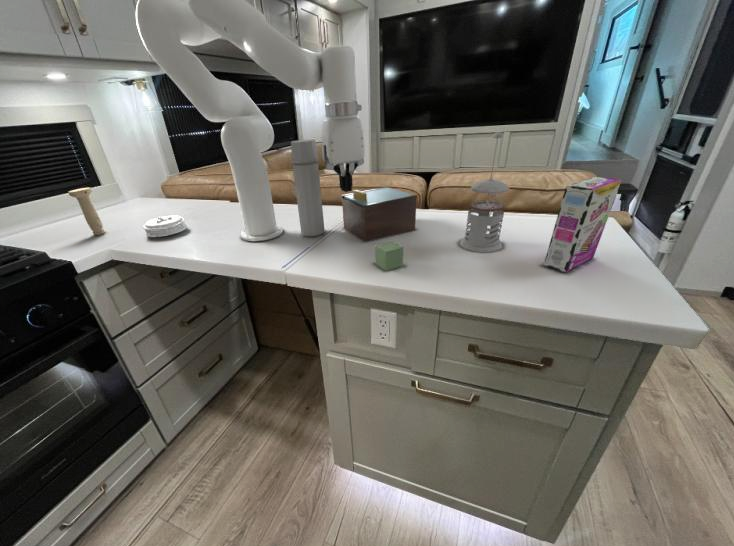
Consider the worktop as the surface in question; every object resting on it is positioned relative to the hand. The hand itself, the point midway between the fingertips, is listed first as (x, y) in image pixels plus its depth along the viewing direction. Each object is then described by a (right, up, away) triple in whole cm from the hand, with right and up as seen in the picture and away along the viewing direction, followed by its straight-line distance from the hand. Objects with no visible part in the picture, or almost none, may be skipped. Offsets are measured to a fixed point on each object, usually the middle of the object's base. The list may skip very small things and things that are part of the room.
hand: (346, 190), depth 87 cm
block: (+9, -21, -12) cm, 26 cm away
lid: (-59, -7, +22) cm, 63 cm away
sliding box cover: (+9, 0, +5) cm, 10 cm away
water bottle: (-9, -9, +11) cm, 17 cm away
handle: (-85, -6, +27) cm, 90 cm away
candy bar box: (+47, -21, -18) cm, 54 cm away
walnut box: (+10, -8, +10) cm, 16 cm away
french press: (+34, -15, -5) cm, 37 cm away
